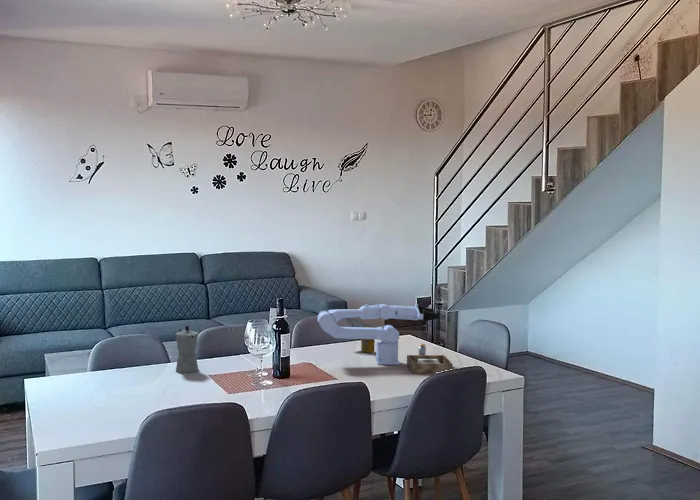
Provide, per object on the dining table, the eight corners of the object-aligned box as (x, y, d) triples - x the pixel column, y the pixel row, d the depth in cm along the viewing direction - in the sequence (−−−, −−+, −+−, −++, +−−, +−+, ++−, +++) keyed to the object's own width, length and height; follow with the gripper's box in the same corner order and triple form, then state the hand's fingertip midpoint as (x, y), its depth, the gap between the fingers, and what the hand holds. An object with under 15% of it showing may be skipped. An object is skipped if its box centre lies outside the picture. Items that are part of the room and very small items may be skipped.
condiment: (378, 352, 321) (378, 326, 320) (365, 355, 315) (365, 328, 314) (367, 350, 326) (367, 324, 326) (353, 352, 321) (354, 326, 320)
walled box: (413, 373, 283) (413, 364, 283) (406, 364, 299) (407, 355, 299) (452, 373, 285) (452, 364, 284) (443, 364, 300) (444, 355, 300)
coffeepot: (204, 372, 279) (204, 327, 278) (181, 375, 274) (181, 329, 273) (190, 364, 292) (190, 321, 291) (168, 367, 287) (168, 323, 286)
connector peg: (419, 361, 306) (419, 345, 306) (417, 359, 309) (418, 343, 309) (426, 361, 306) (426, 345, 306) (424, 359, 309) (425, 343, 309)
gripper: (409, 307, 293) (441, 308, 295) (402, 300, 308) (432, 301, 309) (407, 323, 294) (439, 325, 296) (400, 315, 308) (431, 317, 310)
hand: (435, 314), depth 303 cm, fingers open, 7 cm apart
